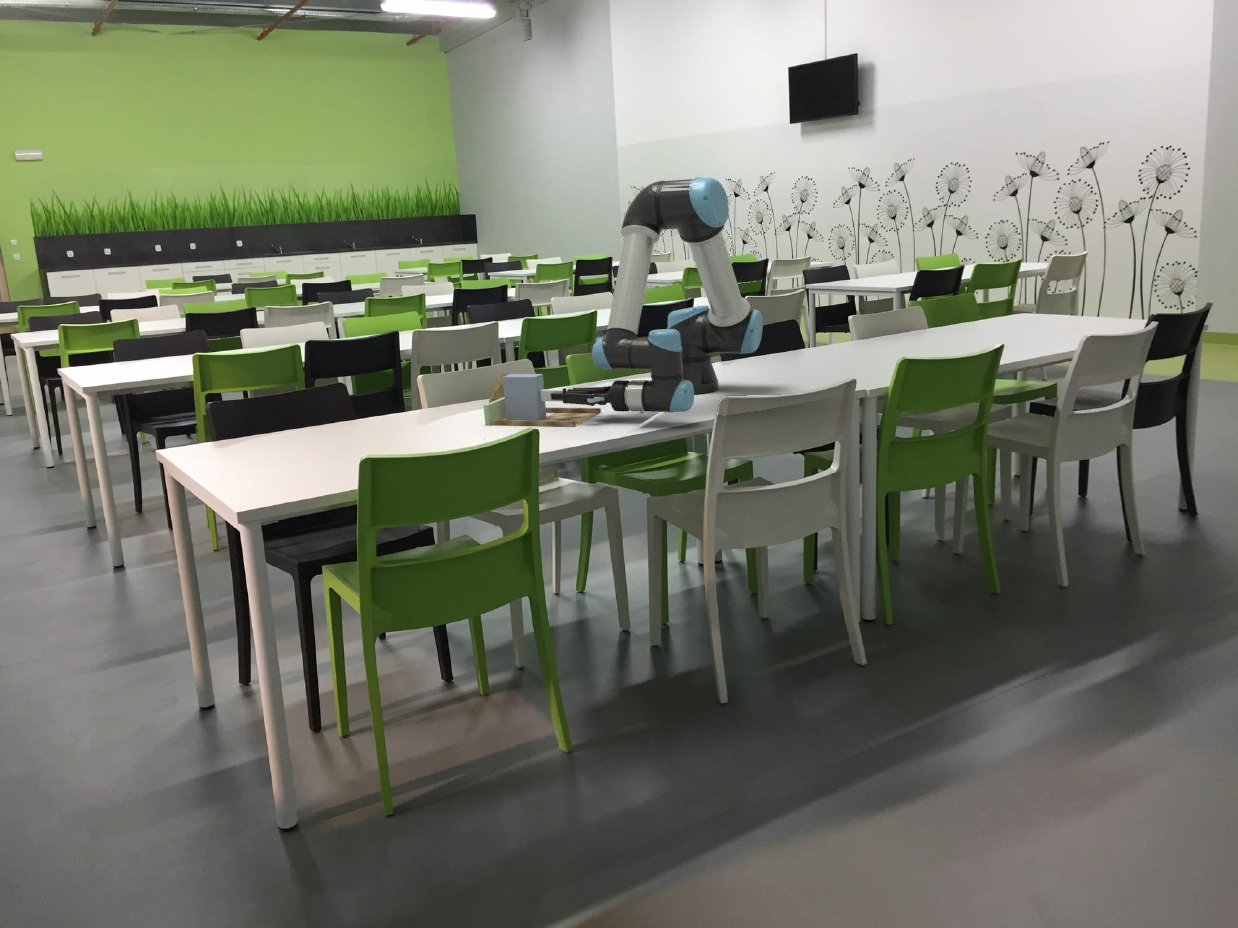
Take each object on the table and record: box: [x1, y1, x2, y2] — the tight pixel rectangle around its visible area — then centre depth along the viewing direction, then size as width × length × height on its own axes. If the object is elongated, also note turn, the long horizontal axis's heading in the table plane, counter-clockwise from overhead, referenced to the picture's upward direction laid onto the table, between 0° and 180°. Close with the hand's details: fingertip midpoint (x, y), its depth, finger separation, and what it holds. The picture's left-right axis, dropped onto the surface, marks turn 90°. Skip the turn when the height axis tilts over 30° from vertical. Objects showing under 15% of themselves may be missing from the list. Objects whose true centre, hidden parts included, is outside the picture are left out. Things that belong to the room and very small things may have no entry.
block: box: [503, 373, 547, 421], centre depth 250 cm, size 9×4×11 cm, turn 69°
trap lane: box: [489, 407, 602, 428], centre depth 250 cm, size 23×17×2 cm
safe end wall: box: [483, 397, 506, 426], centre depth 254 cm, size 1×17×6 cm, turn 158°
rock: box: [488, 373, 508, 403], centre depth 268 cm, size 11×9×10 cm
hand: (541, 395), depth 248 cm, fingers closed
